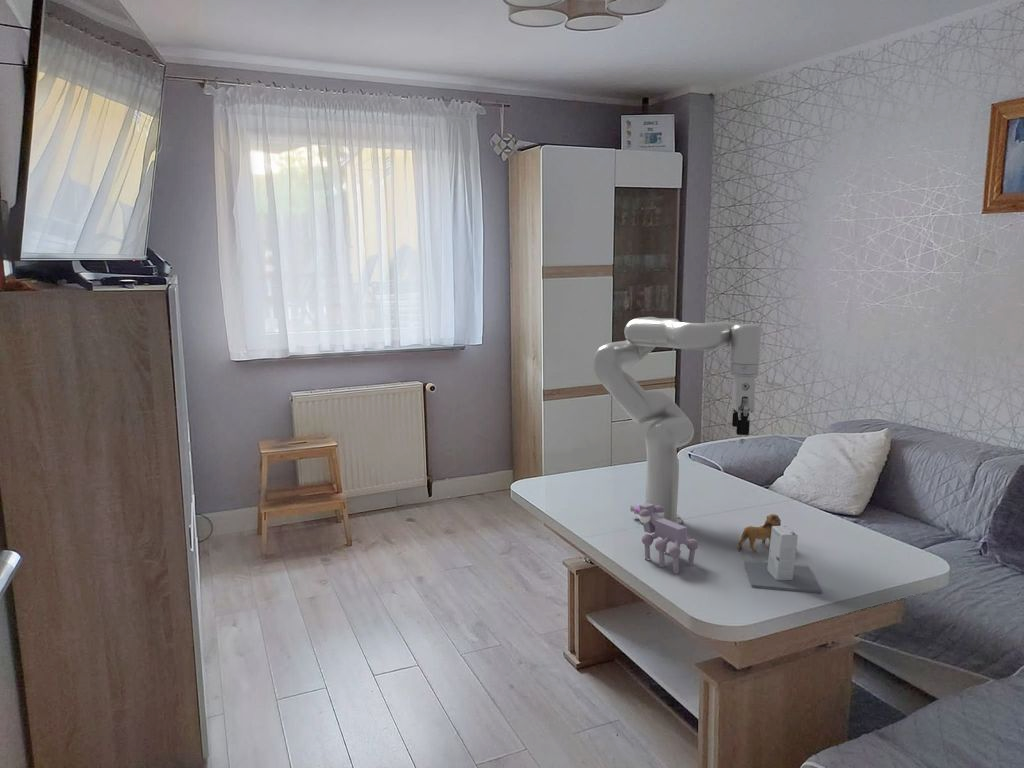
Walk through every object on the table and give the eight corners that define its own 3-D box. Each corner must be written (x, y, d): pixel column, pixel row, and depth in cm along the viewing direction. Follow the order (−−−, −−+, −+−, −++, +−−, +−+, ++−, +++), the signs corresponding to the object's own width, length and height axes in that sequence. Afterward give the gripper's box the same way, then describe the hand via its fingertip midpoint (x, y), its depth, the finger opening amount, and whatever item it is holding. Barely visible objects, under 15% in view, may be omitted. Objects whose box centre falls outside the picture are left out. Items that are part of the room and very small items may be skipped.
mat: (751, 587, 169) (751, 584, 169) (743, 563, 183) (744, 561, 183) (821, 593, 166) (821, 590, 166) (808, 568, 180) (808, 566, 180)
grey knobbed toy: (617, 549, 191) (620, 501, 189) (644, 542, 197) (647, 496, 195) (673, 575, 175) (677, 524, 173) (700, 567, 181) (705, 517, 179)
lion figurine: (768, 540, 198) (771, 510, 197) (784, 546, 194) (786, 516, 192) (731, 550, 191) (733, 519, 190) (746, 557, 187) (748, 525, 185)
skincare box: (766, 570, 177) (769, 525, 175) (783, 569, 177) (786, 524, 175) (777, 581, 171) (780, 534, 169) (794, 580, 171) (798, 534, 169)
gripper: (763, 374, 180) (759, 438, 183) (753, 365, 197) (749, 424, 200) (733, 373, 181) (729, 437, 184) (726, 364, 198) (722, 423, 201)
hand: (740, 430), depth 192 cm, fingers open, 9 cm apart
